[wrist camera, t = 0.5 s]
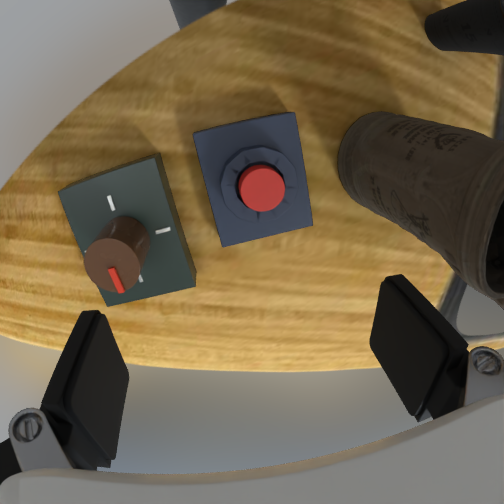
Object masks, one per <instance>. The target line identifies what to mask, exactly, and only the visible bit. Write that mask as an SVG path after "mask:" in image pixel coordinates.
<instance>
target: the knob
mask: <svg viewBox="0 0 504 504" xmlns="http://www.w3.org/2000/svg"><path fill="white" fill-rule="evenodd" d="M149 247H150V237H149V234H148V232H147V230H146V228H145V227H144V226H143V225H142V224H141V223H140V222H139V221H137V220H136V219H134V218H131V217H126V216H121V217H116V218H113V219H112V220H110V221H109V222H108V223H107V224H106V225H105V226H104V228H103V229H102V230H101V231H100V233H99V234H98V235H97V237H96V238H95V239H94V241H93V242H92V243H91V245H90V246H89V247H88V249H87V251H86V253H85V257H84V265H85V269H86V272H87V274H88V276H89V277H90V279H91V280H92V281H93V282H94V283H95V284H96V285H97V286H99V287H100V288H102V289H104V290H107V291H111V292H118V293H124V292H125V290H128V289H130V288H131V287H132V286H134V285H135V283H136V282H137V280H138V278H139V276H140V273H141V270H142V267H143V264H144V262H145V259H146V256H147V254H148V251H149Z"/></svg>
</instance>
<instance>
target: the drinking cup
mask: <svg viewBox="0 0 504 504" xmlns="http://www.w3.org/2000/svg"><path fill="white" fill-rule="evenodd" d="M425 30H426V33H427V36H428V38H429V39H430V41H431V42H432V43H433V45H434V46H436V47H437V48H438V49H440V50H443V51H463V52H477V53H488V54H497V55H504V0H466V1H463V2H461V3H458V4H455V5H453V6H450V7H448V8H445V9H443V10H440V11H438V12H436V13H433V14H431V15H429V16H428V17H427V18H426V21H425Z"/></svg>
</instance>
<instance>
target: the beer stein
mask: <svg viewBox="0 0 504 504" xmlns="http://www.w3.org/2000/svg"><path fill="white" fill-rule="evenodd" d="M338 171H339V175H340V179H341V182H342V184H343V186H344V188H345V190H346V191H347V193H348V194H349V195H350V197H351V198H352V199H353V200H355V201H356V202H357V203H359V204H360V205H362V206H364V207H366V208H368V209H370V210H371V211H373V212H374V213H376V214H378V215H380V216H383V217H385V218H387V219H388V220H390V221H392V222H394V223H396V224H398V225H399V226H400V227H401V228H403V229H405V230H406V231H408V232H410V233H412V234H413V235H415V236H416V237H417V239H419V240H421V241H422V242H424V243H426V244H427V245H428V246H429V247H430V248H432V249H433V250H435V251H437V252H438V253H440V254H441V256H442V257H443V258H444V259H445V260H446V262H447V263H448V264H449V265H450V267H451V268H452V269H453V270H454V271H455V272H456V273H457V274H458V275H459V276H460V277H461V278H462V279H463V280H464V281H465V282H466V283H467V284H468V285H469V286H471V287H472V288H474V289H475V290H476V291H478V292H480V293H482V294H484V295H485V296H487V297H489V298H491V299H492V300H494V301H495V302H496V303H497V304H498V305H500V307H501V308H502V309H503V310H504V141H502V140H495V139H492V138H490V137H487V136H486V135H484V134H481V133H479V132H476V131H473V130H469V129H465V128H459V127H454V126H451V125H446V124H440V123H437V122H433V121H427V120H423V119H419V118H414V117H408V116H405V115H396V114H394V113H390V112H382V111H381V112H374V113H370V114H368V115H365V116H363V117H361V118H360V119H358V120H357V121H356V122H355V123H354V124H353V125H352V126H351V127H350V129H349V130H348V131H347V133H346V135H345V137H344V138H343V140H342V142H341V146H340V150H339V154H338Z"/></svg>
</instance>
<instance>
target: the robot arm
mask: <svg viewBox="0 0 504 504" xmlns="http://www.w3.org/2000/svg"><path fill="white" fill-rule="evenodd" d="M468 345H469V344H468V343H467V342H466V341H465V340H464V339H463V338H462V337H461V335H460V334H459V333H458V332H457V331H456V330H455V329H454V328H453V327H452V325H451V324H450V323H449V322H448V321H447V320H446V319H445V318H444V317H443V316H442V315H441V314H440V312H439V311H438V310H437V309H436V308H435V307H434V306H433V305H432V304H431V303H430V302H429V301H428V300H427V299H426V298H425V297H424V296H423V295H422V294H421V293H420V292H419V291H418V290H417V289H416V288H415V287H414V286H413V285H412V284H411V283H410V282H409V281H408V280H407V279H406V278H405V277H404V276H403V275H402V274H399V275H393V276H387V277H386V278H385V280H384V281H383V282H382V283H381V285H380V291H379V296H378V302H377V307H376V312H375V317H374V322H373V327H372V331H371V336H370V347H371V349H372V351H373V353H374V354H375V356H376V358H377V359H378V361H379V363H380V364H381V366H382V368H383V369H384V371H385V373H386V374H387V376H388V378H389V380H390V381H391V383H392V385H393V386H394V388H395V390H396V392H397V393H398V395H399V397H400V398H401V400H402V402H403V404H404V405H405V407H406V409H407V410H408V412H409V414H410V415H411V416H415V418H416V420H417V422H420V421H422V420H425V419H427V418H430V417H431V416H432V418H433V420H432V421H430V422H427V423H424V424H422V425H419V426H417V427H415V428H412V429H410V430H407V431H404V432H401V433H399V434H396V435H393V436H390V437H387V438H384V439H381V440H378V441H375V442H372V443H369V444H366V445H363V446H359V447H355V448H352V449H348V450H345V451H341V452H337V453H333V454H329V455H325V456H321V457H317V458H312V459H308V460H303V461H298V462H293V463H287V464H282V465H276V466H269V467H262V468H256V469H247V470H238V471H228V472H217V473H201V474H134V473H133V474H132V473H115V472H103V471H97V467H106V468H110V465H111V460H114V459H115V458H116V453H117V445H118V439H119V432H120V426H121V420H122V414H123V409H124V403H125V398H126V392H127V387H128V382H129V372H128V369H127V367H126V365H125V362H124V360H123V358H122V355H121V353H120V351H119V348H118V346H117V343H116V341H115V338H114V336H113V333H112V331H111V328H110V326H109V323H108V320H107V318H106V316H105V314H101V312H100V311H99V310H89V311H82V312H81V314H80V316H79V318H78V320H77V322H76V324H75V326H74V328H73V330H72V332H71V335H70V337H69V339H68V341H67V343H66V345H65V347H64V350H63V352H62V354H61V356H60V359H59V361H58V363H57V365H56V368H55V370H54V372H53V375H52V377H51V380H50V382H49V385H48V387H47V390H46V392H45V394H44V397H43V400H42V402H41V403H42V404H41V407H40V410H39V409H36V408H26V409H24V410H21V411H20V412H18V413H17V414H16V415H15V416H14V417H13V418H12V420H11V422H10V424H9V430H8V431H9V437H10V438H8V439H7V440H5V441H3V442H2V443H0V504H504V360H503V358H502V356H501V355H500V354H499V353H498V352H497V351H495V350H494V349H492V348H489V347H484V346H480V347H476V348H474V349H472V350H471V351H470V353H469V351H468V350H467V347H468Z"/></svg>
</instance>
